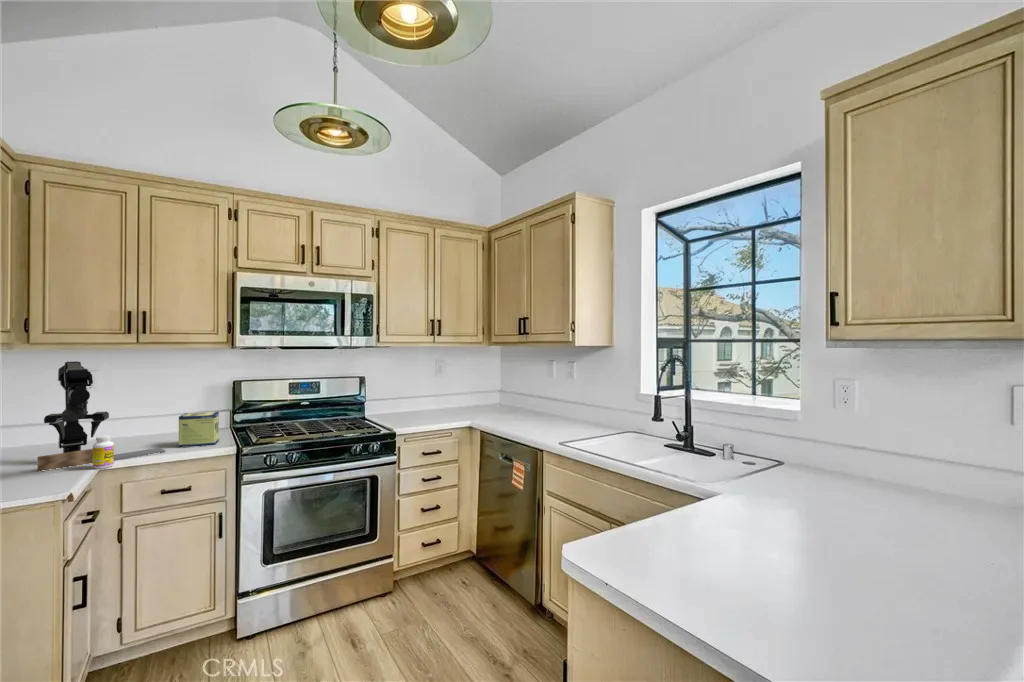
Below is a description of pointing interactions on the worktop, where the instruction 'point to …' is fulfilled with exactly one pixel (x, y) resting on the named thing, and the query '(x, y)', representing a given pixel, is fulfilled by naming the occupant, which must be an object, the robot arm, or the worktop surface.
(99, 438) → the supplement bottle
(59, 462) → the brown wooden plank
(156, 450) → the mat
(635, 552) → the worktop surface
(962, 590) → the worktop surface
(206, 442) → the protein box
